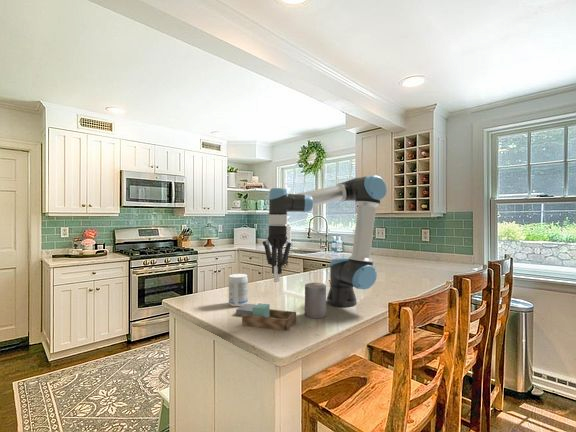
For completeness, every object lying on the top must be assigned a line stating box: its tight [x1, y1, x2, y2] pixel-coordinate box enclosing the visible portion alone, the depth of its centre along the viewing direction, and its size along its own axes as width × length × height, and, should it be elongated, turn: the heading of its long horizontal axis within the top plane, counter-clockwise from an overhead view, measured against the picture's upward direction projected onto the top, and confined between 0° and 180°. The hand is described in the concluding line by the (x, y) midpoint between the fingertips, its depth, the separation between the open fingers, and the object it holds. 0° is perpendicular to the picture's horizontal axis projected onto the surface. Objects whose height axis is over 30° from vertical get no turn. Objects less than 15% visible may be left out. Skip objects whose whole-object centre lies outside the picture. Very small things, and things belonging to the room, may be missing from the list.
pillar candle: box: [304, 281, 327, 319], centre depth 142 cm, size 10×10×15 cm
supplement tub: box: [228, 273, 249, 308], centre depth 158 cm, size 10×10×15 cm
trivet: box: [235, 303, 256, 317], centre depth 145 cm, size 10×10×2 cm
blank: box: [253, 303, 271, 317], centre depth 132 cm, size 5×6×7 cm
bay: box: [241, 308, 297, 332], centre depth 131 cm, size 20×11×4 cm, turn 72°
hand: (276, 281), depth 131 cm, fingers closed
